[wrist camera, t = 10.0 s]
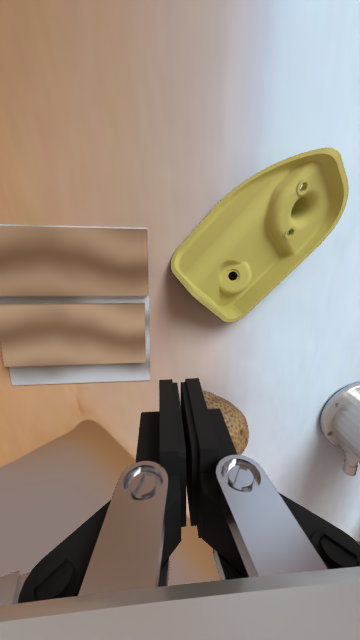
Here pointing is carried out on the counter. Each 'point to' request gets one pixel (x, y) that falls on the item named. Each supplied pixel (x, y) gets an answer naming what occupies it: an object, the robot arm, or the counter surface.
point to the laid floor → (75, 285)
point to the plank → (72, 333)
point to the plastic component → (262, 232)
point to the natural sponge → (230, 420)
